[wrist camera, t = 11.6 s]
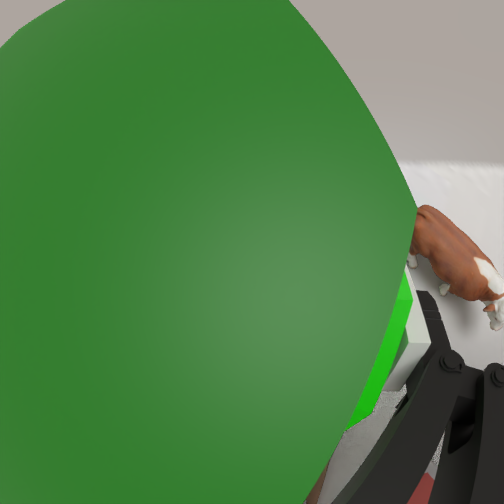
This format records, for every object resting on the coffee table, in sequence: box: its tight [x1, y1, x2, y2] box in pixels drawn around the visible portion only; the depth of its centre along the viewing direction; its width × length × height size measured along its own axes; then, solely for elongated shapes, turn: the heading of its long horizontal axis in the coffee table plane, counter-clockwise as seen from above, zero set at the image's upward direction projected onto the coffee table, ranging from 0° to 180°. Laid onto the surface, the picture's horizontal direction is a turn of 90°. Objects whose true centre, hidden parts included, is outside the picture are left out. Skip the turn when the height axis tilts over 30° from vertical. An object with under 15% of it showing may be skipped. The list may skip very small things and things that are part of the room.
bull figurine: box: [407, 205, 504, 331], centre depth 21 cm, size 4×13×8 cm, turn 42°
